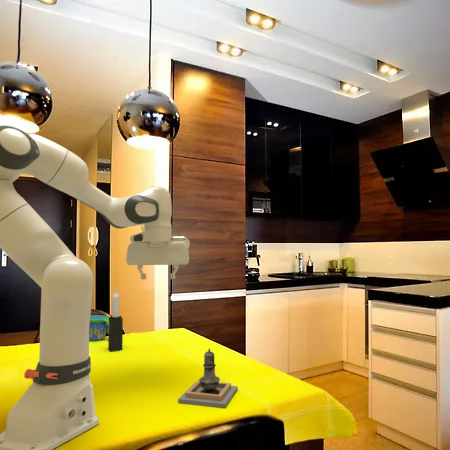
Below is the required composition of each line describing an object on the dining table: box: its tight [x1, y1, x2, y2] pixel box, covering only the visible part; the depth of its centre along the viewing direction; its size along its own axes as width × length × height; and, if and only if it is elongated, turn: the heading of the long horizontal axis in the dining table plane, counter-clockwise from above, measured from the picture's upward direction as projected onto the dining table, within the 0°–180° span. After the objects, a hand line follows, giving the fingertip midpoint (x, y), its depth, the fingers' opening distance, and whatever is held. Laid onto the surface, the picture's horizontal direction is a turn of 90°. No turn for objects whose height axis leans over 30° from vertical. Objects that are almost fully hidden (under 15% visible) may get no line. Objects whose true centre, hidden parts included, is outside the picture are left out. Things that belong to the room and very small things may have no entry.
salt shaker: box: [198, 348, 221, 394], centre depth 104 cm, size 6×6×12 cm
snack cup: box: [89, 315, 110, 342], centre depth 172 cm, size 16×10×10 cm
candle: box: [107, 288, 124, 353], centre depth 154 cm, size 5×5×25 cm
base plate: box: [177, 379, 239, 409], centre depth 103 cm, size 13×13×2 cm
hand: (158, 279), depth 122 cm, fingers open, 8 cm apart
